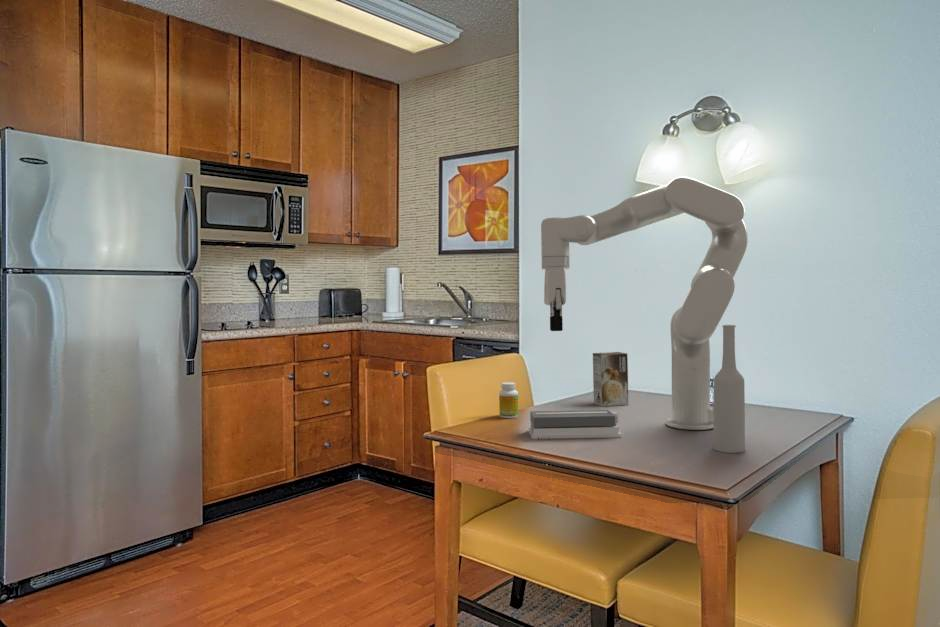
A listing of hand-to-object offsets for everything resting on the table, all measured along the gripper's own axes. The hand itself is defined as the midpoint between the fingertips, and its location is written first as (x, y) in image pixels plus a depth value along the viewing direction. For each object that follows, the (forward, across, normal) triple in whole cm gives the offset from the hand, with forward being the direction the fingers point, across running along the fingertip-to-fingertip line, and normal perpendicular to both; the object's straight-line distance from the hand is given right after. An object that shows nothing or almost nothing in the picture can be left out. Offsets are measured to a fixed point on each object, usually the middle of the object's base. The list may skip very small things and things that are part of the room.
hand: (556, 330), depth 178 cm
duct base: (+25, +15, +2) cm, 29 cm away
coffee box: (+25, -24, +20) cm, 40 cm away
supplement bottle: (+25, -8, -13) cm, 29 cm away
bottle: (+25, +33, +34) cm, 54 cm away
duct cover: (+22, +15, +2) cm, 27 cm away
